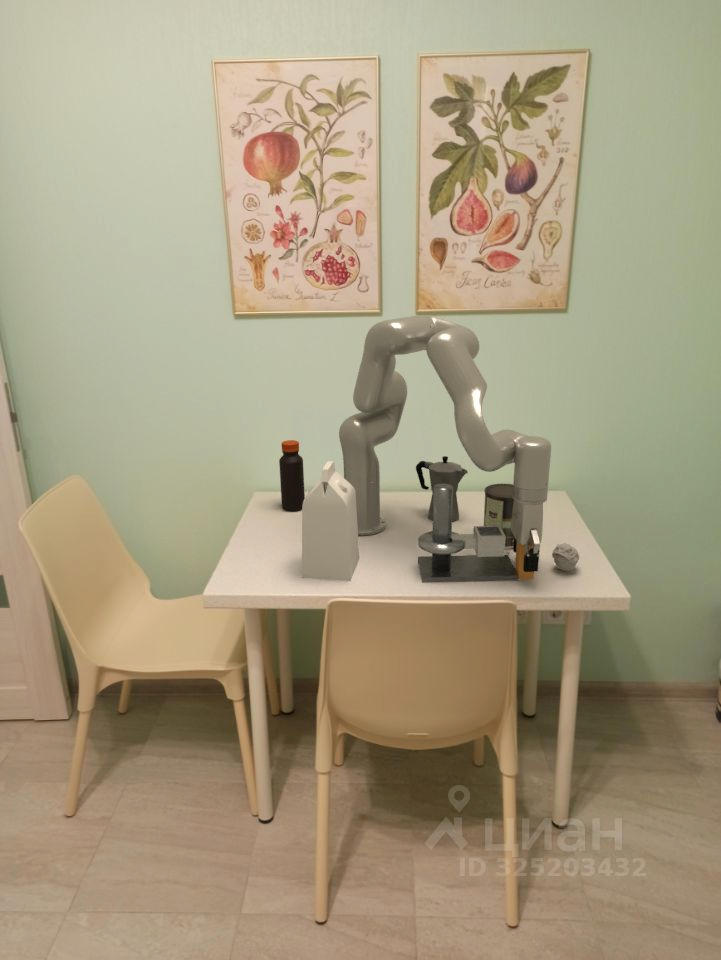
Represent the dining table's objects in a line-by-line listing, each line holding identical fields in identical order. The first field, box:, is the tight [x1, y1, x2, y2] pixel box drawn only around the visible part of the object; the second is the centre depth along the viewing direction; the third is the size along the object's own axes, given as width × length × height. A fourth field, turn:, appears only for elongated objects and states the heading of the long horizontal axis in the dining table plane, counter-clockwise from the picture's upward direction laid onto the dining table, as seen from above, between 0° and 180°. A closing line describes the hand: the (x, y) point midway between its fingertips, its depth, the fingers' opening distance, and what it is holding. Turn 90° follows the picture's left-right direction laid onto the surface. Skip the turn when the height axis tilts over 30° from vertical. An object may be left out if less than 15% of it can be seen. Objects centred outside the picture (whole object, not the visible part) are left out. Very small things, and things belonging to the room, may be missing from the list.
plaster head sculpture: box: [551, 542, 580, 572], centre depth 159 cm, size 6×7×7 cm
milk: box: [301, 460, 360, 582], centre depth 159 cm, size 12×12×26 cm
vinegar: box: [278, 439, 306, 512], centre depth 197 cm, size 7×7×20 cm
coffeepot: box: [415, 455, 469, 524], centre depth 189 cm, size 15×9×18 cm, turn 59°
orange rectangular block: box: [514, 540, 535, 580], centre depth 157 cm, size 4×4×11 cm
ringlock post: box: [417, 484, 519, 583], centre depth 158 cm, size 22×11×21 cm, turn 91°
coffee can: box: [483, 483, 514, 550], centre depth 174 cm, size 10×10×14 cm
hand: (525, 561), depth 157 cm, fingers open, 9 cm apart
